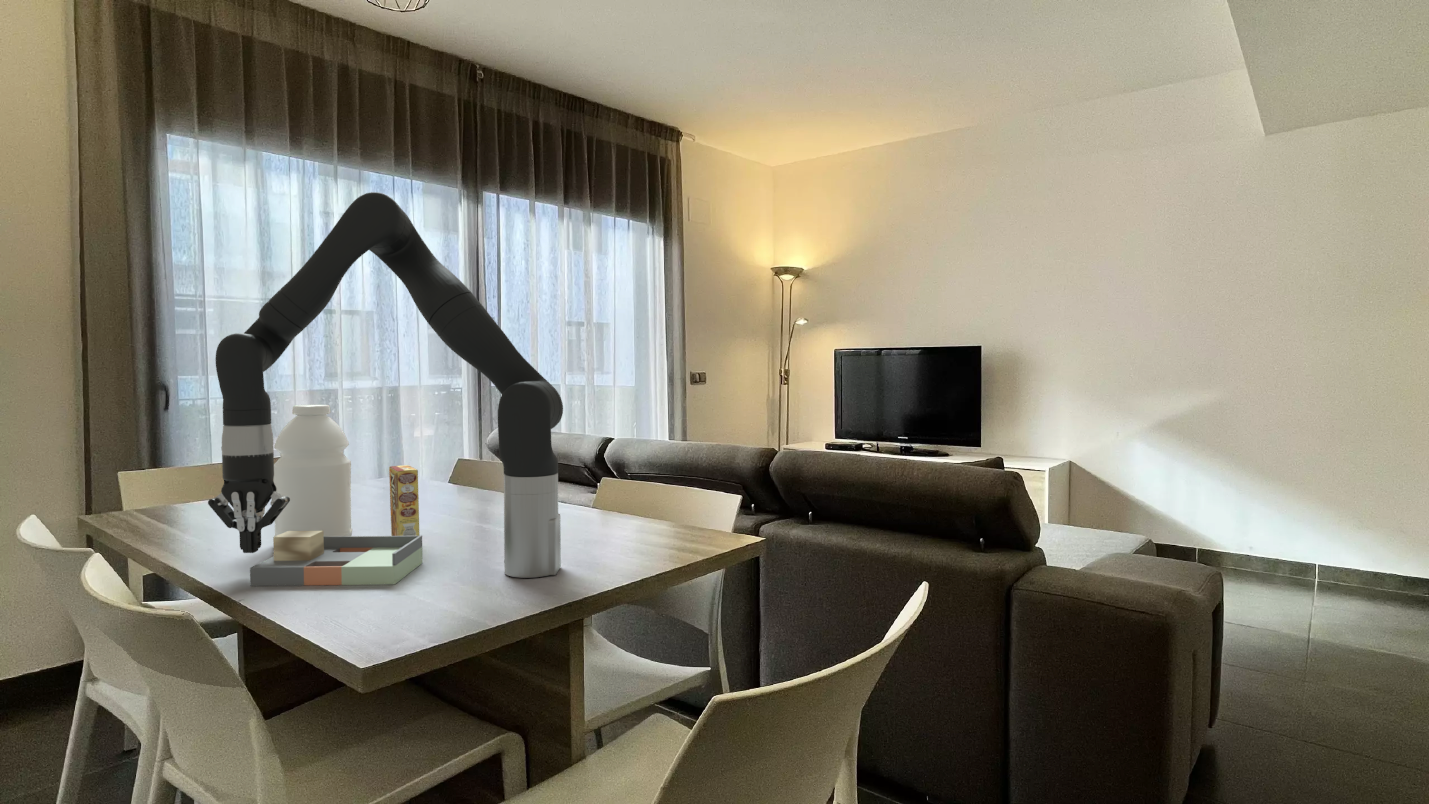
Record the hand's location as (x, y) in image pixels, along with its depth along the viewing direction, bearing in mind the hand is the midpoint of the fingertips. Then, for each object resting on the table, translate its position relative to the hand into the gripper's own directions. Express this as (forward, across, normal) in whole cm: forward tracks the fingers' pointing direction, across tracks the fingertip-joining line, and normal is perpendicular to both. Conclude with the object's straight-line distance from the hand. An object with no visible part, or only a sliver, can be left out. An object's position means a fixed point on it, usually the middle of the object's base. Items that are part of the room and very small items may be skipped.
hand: (250, 551), depth 131 cm
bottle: (+4, 0, -24) cm, 24 cm away
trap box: (+4, -15, 0) cm, 16 cm away
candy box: (+4, -18, -24) cm, 30 cm away
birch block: (+1, -8, 0) cm, 8 cm away
